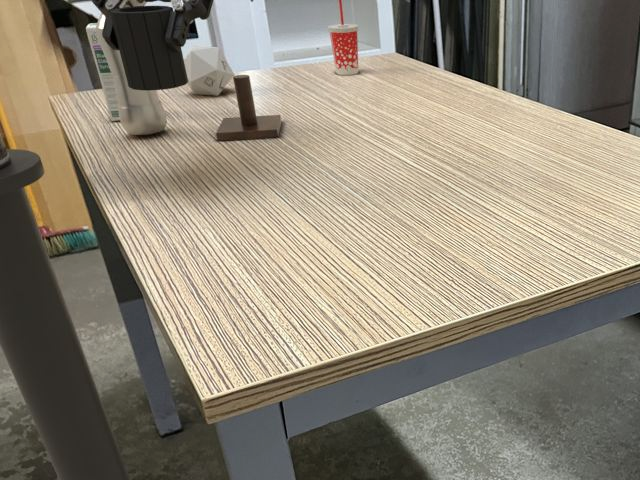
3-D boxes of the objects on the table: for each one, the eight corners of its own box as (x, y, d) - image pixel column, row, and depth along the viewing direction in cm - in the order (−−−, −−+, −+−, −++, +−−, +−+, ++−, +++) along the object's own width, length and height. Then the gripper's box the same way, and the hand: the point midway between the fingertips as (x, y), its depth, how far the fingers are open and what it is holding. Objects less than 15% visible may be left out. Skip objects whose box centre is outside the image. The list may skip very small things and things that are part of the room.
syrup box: (110, 122, 117) (83, 26, 109) (116, 113, 122) (91, 21, 114) (147, 119, 118) (123, 24, 110) (151, 111, 123) (129, 19, 115)
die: (195, 105, 129) (221, 56, 125) (161, 75, 130) (186, 27, 127) (225, 111, 137) (249, 66, 133) (192, 83, 138) (216, 38, 134)
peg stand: (217, 141, 107) (206, 84, 102) (224, 125, 114) (214, 71, 110) (278, 137, 108) (269, 81, 103) (281, 122, 115) (273, 69, 111)
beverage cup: (366, 73, 147) (360, -2, 139) (339, 77, 144) (331, 1, 137) (355, 68, 151) (348, -4, 144) (328, 71, 149) (320, -2, 141)
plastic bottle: (177, 132, 111) (144, -10, 100) (136, 142, 107) (96, -5, 96) (157, 125, 114) (123, -13, 104) (116, 134, 110) (76, -8, 99)
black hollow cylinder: (123, 91, 80) (103, 13, 75) (136, 79, 85) (118, 6, 81) (182, 89, 80) (165, 11, 76) (191, 77, 86) (176, 4, 81)
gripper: (93, -106, 80) (61, 23, 76) (213, -107, 78) (185, 25, 74) (131, -54, 87) (103, 65, 83) (241, -55, 85) (217, 68, 82)
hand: (142, 46), depth 79 cm, fingers closed on black hollow cylinder, 6 cm apart
